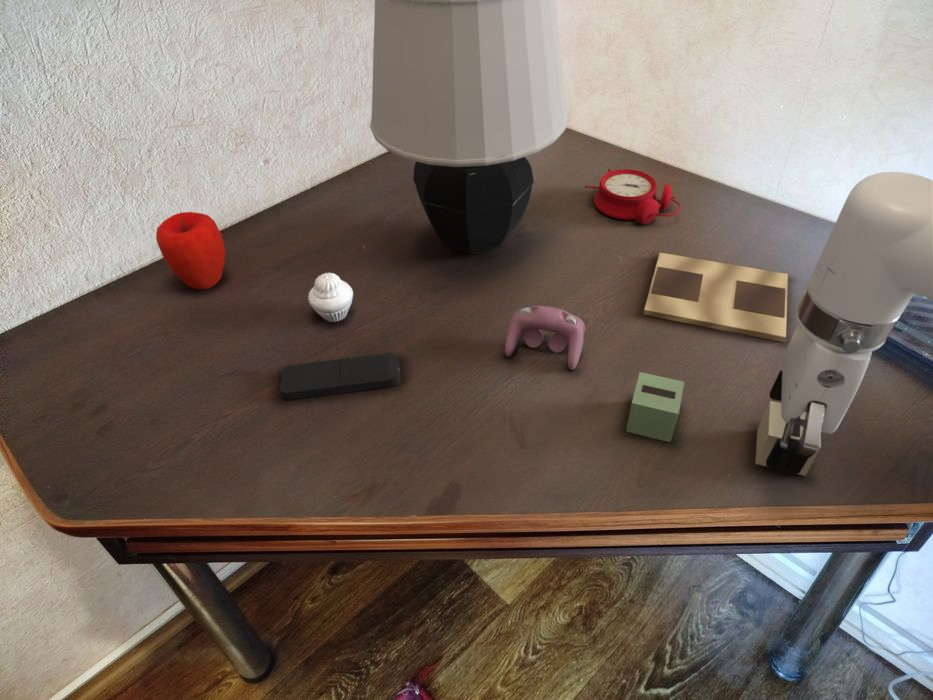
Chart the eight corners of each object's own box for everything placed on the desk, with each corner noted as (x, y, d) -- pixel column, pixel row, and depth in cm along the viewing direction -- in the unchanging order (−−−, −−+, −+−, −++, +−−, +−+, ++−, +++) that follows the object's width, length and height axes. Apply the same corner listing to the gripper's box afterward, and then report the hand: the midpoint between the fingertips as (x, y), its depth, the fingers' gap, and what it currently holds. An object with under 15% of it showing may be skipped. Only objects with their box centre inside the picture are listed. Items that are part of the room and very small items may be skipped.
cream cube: (804, 440, 71) (820, 411, 68) (805, 476, 68) (821, 446, 64) (757, 429, 73) (770, 399, 69) (755, 463, 69) (768, 434, 66)
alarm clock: (611, 161, 111) (693, 168, 102) (614, 195, 115) (693, 204, 105) (577, 186, 106) (660, 195, 96) (581, 220, 110) (662, 233, 100)
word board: (785, 279, 92) (788, 273, 91) (783, 342, 83) (786, 336, 82) (658, 257, 97) (659, 251, 96) (643, 315, 88) (644, 308, 87)
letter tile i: (676, 410, 75) (684, 381, 72) (670, 442, 72) (678, 413, 68) (633, 400, 77) (639, 371, 73) (625, 431, 73) (631, 402, 70)
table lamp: (357, 241, 104) (303, -41, 76) (485, 184, 115) (478, -79, 87) (459, 324, 88) (438, 7, 60) (596, 248, 99) (630, -48, 72)
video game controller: (581, 362, 84) (590, 311, 81) (576, 373, 80) (585, 319, 77) (509, 347, 86) (516, 297, 84) (500, 357, 82) (507, 305, 80)
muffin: (354, 328, 88) (345, 288, 83) (310, 330, 88) (299, 290, 84) (359, 299, 93) (351, 260, 88) (317, 301, 93) (306, 262, 88)
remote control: (281, 404, 79) (401, 385, 80) (277, 394, 78) (399, 375, 79) (284, 375, 83) (399, 358, 83) (280, 366, 82) (396, 348, 82)
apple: (248, 272, 99) (226, 212, 91) (207, 305, 93) (180, 243, 86) (206, 258, 102) (182, 198, 95) (164, 289, 97) (135, 228, 89)
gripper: (903, 392, 50) (822, 509, 62) (884, 264, 61) (819, 384, 73) (799, 369, 52) (740, 487, 64) (800, 249, 63) (750, 369, 75)
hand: (782, 432), depth 68 cm, fingers open, 9 cm apart
